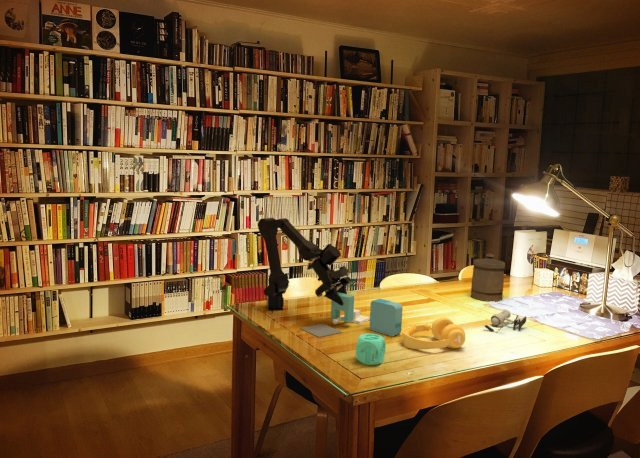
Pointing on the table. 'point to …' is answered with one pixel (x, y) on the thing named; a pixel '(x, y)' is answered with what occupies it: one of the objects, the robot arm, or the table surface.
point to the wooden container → (488, 279)
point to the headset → (435, 335)
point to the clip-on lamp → (504, 315)
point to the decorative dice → (370, 349)
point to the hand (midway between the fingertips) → (345, 303)
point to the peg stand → (354, 318)
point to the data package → (386, 317)
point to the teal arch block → (343, 307)
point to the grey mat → (321, 330)
